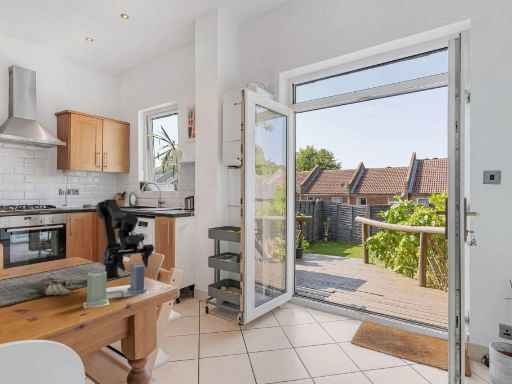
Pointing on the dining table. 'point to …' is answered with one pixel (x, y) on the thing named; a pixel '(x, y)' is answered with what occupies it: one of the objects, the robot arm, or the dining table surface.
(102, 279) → the pale green upright block
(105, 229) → the robot arm
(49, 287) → the figurine
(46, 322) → the dining table surface
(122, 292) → the card
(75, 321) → the dining table surface
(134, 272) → the blue flanged post
